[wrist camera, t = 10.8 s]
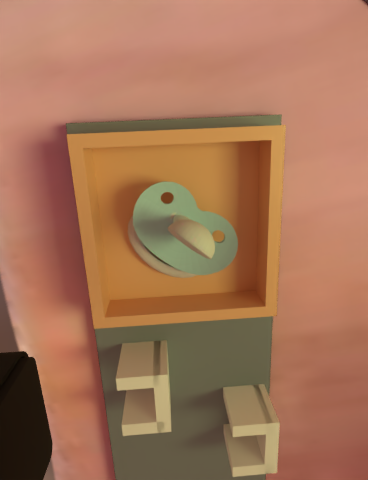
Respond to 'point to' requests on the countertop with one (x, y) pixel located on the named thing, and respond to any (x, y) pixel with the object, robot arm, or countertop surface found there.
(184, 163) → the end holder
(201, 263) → the pacifier
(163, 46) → the countertop surface
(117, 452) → the board
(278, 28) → the countertop surface
